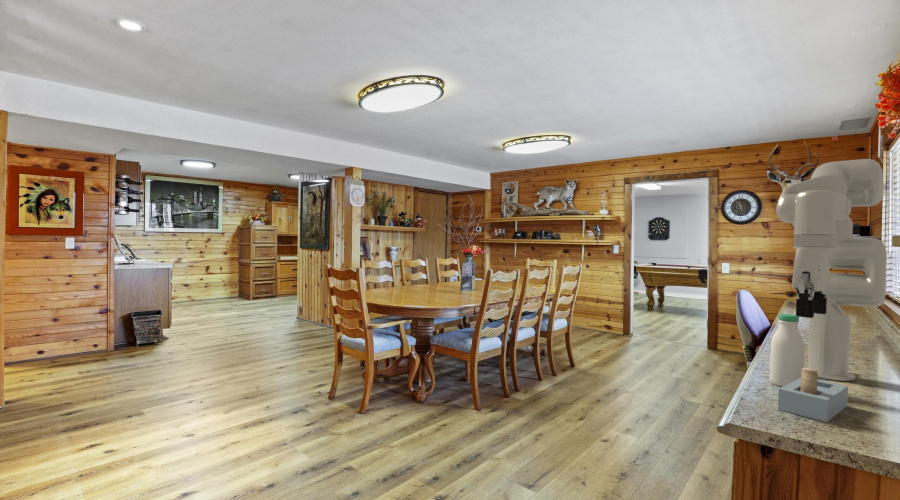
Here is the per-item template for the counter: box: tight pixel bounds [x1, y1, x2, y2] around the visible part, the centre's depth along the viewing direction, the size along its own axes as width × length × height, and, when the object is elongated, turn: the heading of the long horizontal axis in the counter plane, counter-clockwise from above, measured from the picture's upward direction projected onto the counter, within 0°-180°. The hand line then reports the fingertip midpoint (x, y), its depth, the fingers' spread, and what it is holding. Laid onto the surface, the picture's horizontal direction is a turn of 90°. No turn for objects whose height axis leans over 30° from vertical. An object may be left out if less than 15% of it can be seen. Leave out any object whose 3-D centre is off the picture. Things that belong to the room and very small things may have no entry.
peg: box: [801, 368, 819, 395], centre depth 104 cm, size 3×3×10 cm
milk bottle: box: [769, 313, 806, 388], centre depth 124 cm, size 8×8×20 cm
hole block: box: [777, 378, 849, 423], centre depth 107 cm, size 18×9×5 cm, turn 127°
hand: (811, 315), depth 104 cm, fingers open, 9 cm apart
